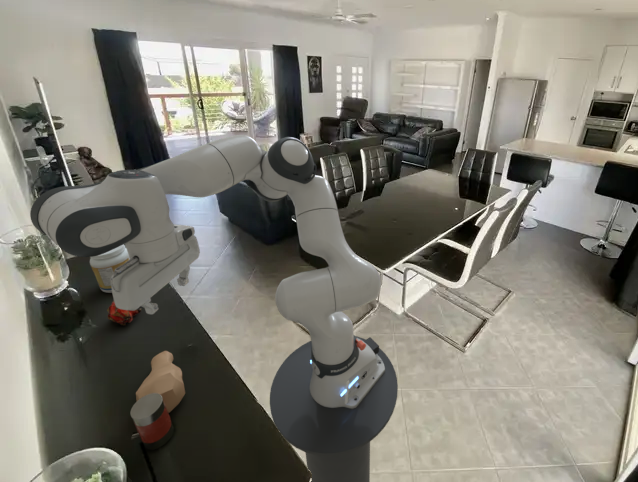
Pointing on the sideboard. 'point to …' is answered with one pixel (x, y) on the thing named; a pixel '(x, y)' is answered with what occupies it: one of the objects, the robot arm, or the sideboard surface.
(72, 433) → the sideboard surface
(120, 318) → the dragon fruit
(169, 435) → the tin
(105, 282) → the supplement tub
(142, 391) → the squash
